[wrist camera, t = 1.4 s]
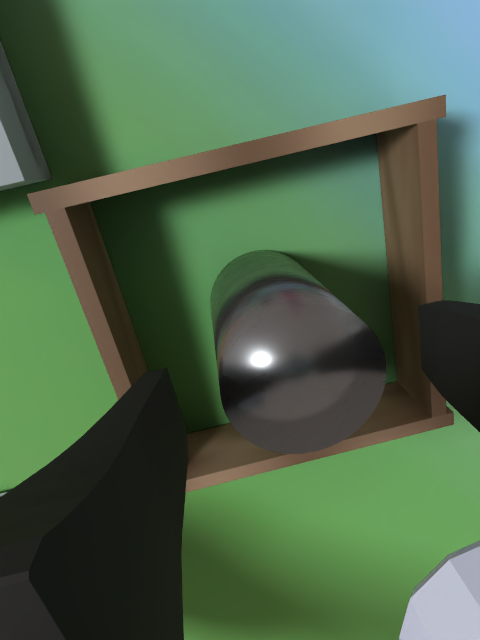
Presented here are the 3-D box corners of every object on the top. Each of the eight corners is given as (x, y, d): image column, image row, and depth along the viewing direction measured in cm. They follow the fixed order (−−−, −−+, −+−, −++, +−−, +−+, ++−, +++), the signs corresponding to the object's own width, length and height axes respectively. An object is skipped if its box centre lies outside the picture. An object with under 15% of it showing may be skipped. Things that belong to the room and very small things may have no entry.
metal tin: (223, 359, 18) (240, 470, 11) (198, 264, 16) (201, 329, 10) (320, 335, 18) (392, 431, 11) (304, 238, 16) (378, 285, 10)
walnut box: (156, 452, 19) (150, 501, 16) (59, 189, 15) (26, 194, 12) (416, 387, 19) (453, 424, 16) (398, 108, 15) (445, 94, 12)
